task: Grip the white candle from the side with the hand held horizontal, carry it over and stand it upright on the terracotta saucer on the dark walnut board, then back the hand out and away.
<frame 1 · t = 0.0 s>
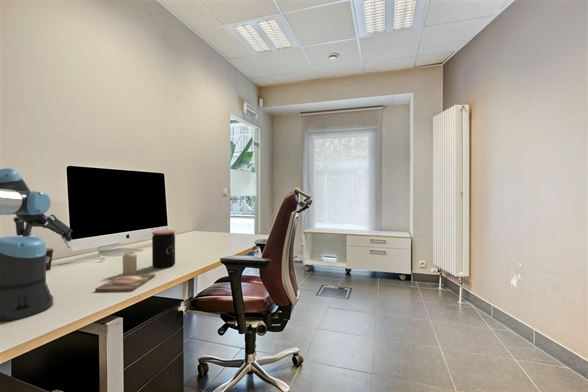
hand: (54, 245, 113), 15 cm above the table, tool tilted 35°, fingers open, 13 cm apart
candle: (129, 274, 125), on the table
candle board: (127, 283, 111), on the table
coffee jar: (164, 266, 138), on the table
coffee mug: (37, 271, 129), on the table
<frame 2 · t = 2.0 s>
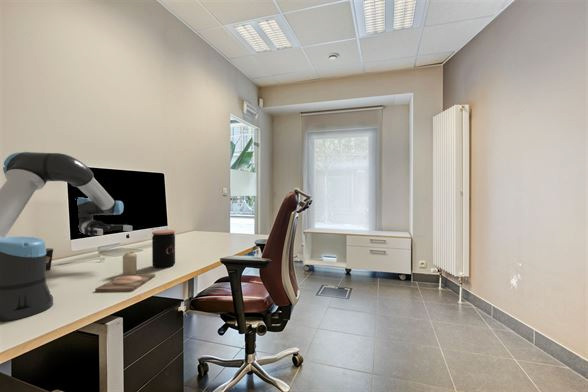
hand: (117, 230, 129), 20 cm above the table, tool horizontal, fingers open, 13 cm apart
nothing on the table moved.
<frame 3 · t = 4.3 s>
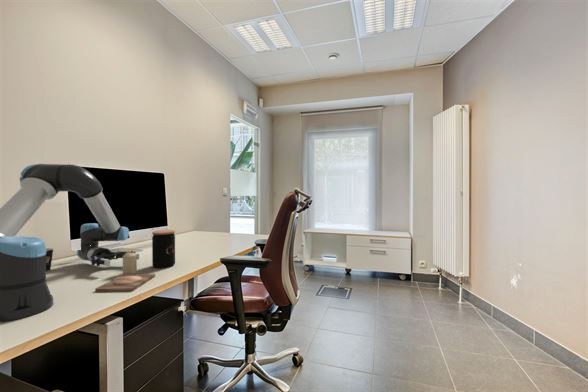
hand: (124, 259, 128), 6 cm above the table, tool horizontal, fingers open, 13 cm apart
nothing on the table moved.
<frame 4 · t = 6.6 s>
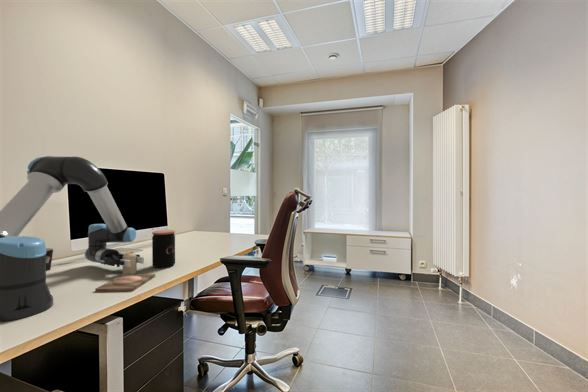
hand: (136, 262, 122), 6 cm above the table, tool horizontal, fingers closed on candle, 5 cm apart
candle: (129, 274, 125), on the table, touching gripper
everything else where it was.
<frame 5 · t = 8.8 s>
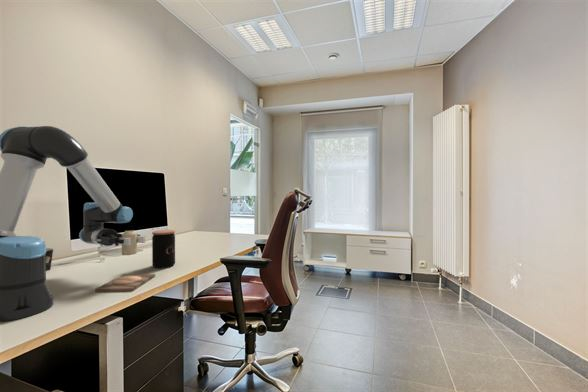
hand: (137, 240, 112), 18 cm above the table, tool horizontal, fingers closed on candle, 5 cm apart
candle: (129, 254, 114), point 11 cm above the table, touching gripper
everything else where it was.
when the fingers open (9 cm above the table, at t = 11.0 s): candle drops 1 cm, resting on candle board.
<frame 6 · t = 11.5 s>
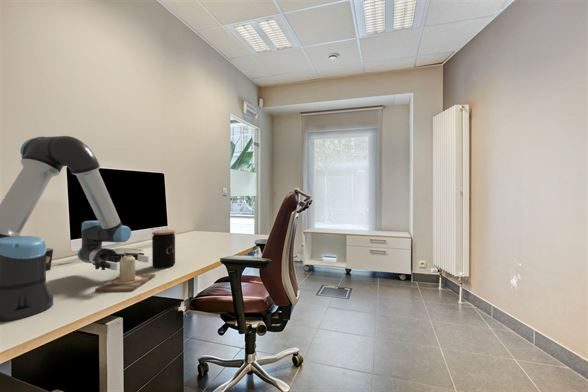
hand: (132, 262, 109), 9 cm above the table, tool horizontal, fingers open, 12 cm apart
candle: (127, 280, 111), point 1 cm above the table, touching candle board
everything else where it was.
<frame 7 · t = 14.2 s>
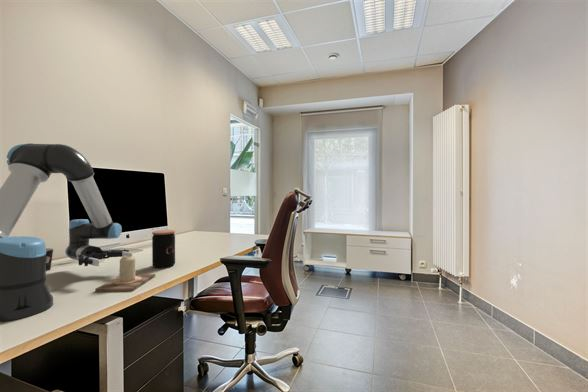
hand: (115, 259, 115), 9 cm above the table, tool horizontal, fingers open, 13 cm apart
nothing on the table moved.
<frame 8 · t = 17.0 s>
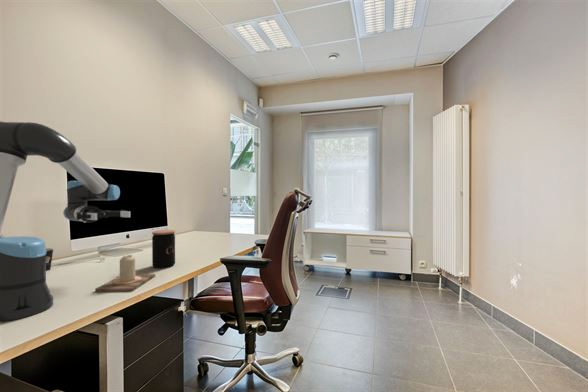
hand: (113, 215, 115), 28 cm above the table, tool horizontal, fingers open, 13 cm apart
nothing on the table moved.
at the end: candle 0.0 cm off-centre on the candle board, point 1.4 cm above the candle board's base; candle tilted 0°; the gripper is holding nothing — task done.
